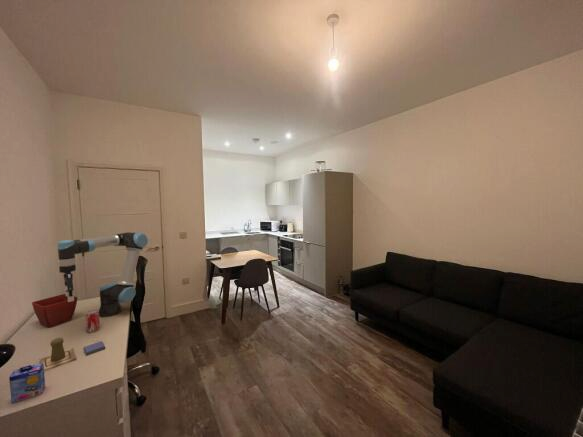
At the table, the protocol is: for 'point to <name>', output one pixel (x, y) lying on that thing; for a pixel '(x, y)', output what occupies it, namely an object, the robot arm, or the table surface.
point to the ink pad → (93, 348)
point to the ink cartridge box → (27, 382)
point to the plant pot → (54, 310)
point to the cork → (57, 350)
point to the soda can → (92, 321)
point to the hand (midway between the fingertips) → (69, 298)
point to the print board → (49, 365)
